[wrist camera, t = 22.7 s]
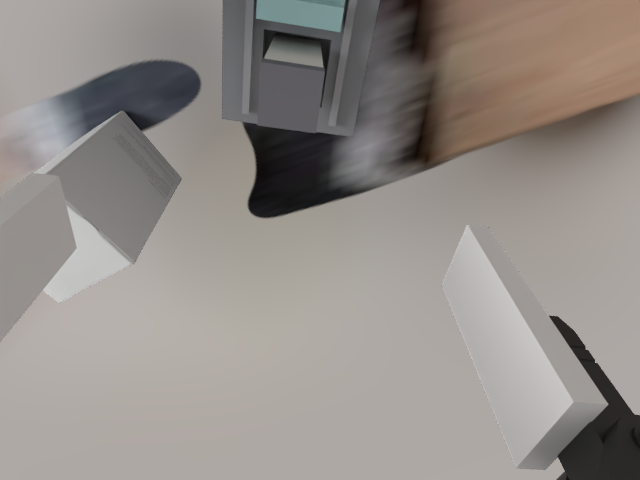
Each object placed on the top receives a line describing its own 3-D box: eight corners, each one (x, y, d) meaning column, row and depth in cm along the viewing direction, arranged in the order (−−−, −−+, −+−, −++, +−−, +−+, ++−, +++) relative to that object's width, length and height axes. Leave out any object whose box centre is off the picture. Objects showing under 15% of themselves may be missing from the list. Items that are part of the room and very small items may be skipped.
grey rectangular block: (271, 81, 37) (257, 125, 27) (274, 33, 35) (260, 62, 25) (314, 88, 38) (316, 133, 28) (320, 40, 35) (324, 71, 25)
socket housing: (229, 105, 39) (220, 121, 35) (234, -182, 28) (222, -205, 24) (349, 122, 40) (353, 139, 36) (400, -146, 29) (414, -163, 25)
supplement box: (59, 150, 41) (-46, 230, 29) (123, 107, 39) (38, 174, 27) (124, 215, 46) (57, 307, 34) (184, 180, 44) (136, 265, 31)
